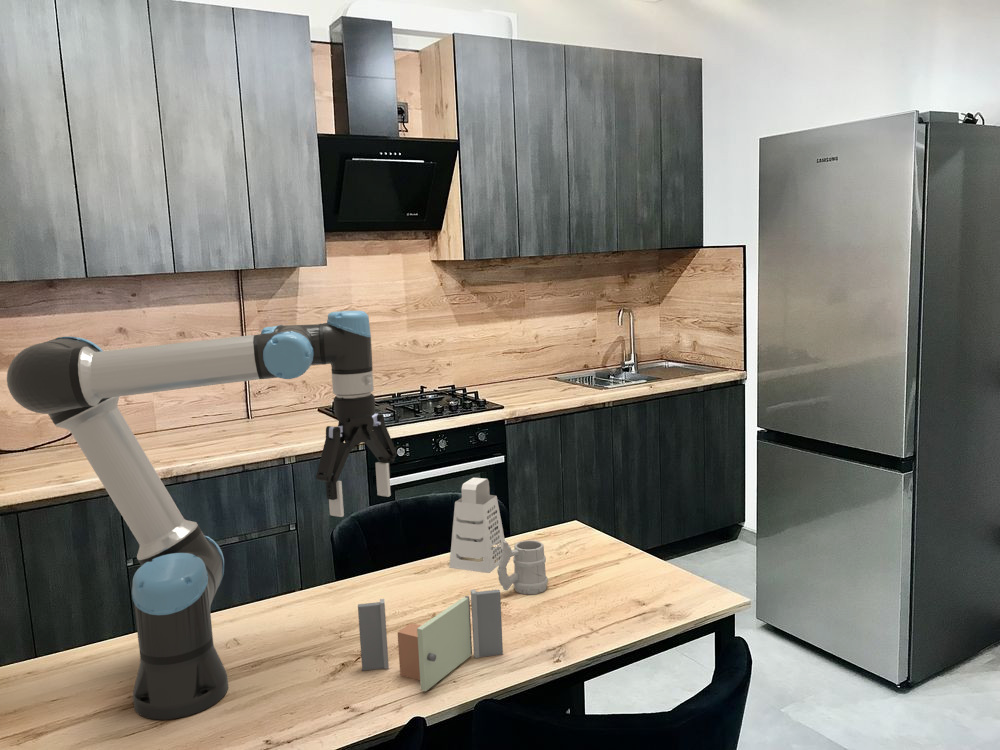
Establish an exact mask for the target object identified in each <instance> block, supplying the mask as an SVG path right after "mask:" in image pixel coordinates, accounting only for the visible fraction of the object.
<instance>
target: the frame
mask: <svg viewBox="0 0 1000 750" xmlns="http://www.w3.org/2000/svg"><path fill="white" fill-rule="evenodd" d="M501 599H502V597H501V591H500V589H492V590H483V591H482V590H481V591H476V589H470V601H471V602H470V603H471V605H470V607H471V621H472V622H471V623H472V624H471V628H472V643H473V644H472V648H473V656H474V659H480V658H482V657H492V656H499V655H504V649H503V648H504V647H503V624H502V623H503V622H502V604H501V603H502V600H501ZM385 602H386V601H385V598H379V601H378V602H377V601H376V602H368V603H358V604H357V612H358V614H357V615H358V628H359V629H358V630H359V643H360V659H361V670H362V671H363V672H366V671H373V670H379V669H380V670H381V669H384V670H388V669H390V666H389V665H390V664H389V653H388V652H389V651H388V649H389V648H388V636H387V635H388V634H387V621H386V617H387V616H386V606H385V605H386V604H385Z"/></svg>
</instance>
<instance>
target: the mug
mask: <svg viewBox="0 0 1000 750" xmlns="http://www.w3.org/2000/svg"><path fill="white" fill-rule="evenodd" d="M513 547H514V549H512V548H511V545H510V544H509V542H507V541H503V551H502V555H501V559H500V558H499V560H500V563H499V565H498V566H497V568H496V569H497V570H496V571H497V575H498V582H499V584H500V586H501V587H502V589H503V591H508V590H509V589H510V588H511V586H512V585H513V586H514V590H515V591H516V592H517V593H518V594H522V595H530V596H531V595H537V594H540V593H543V592H545V591H546V590H547V585H548V583H549V579H548V577H547V573H546V560H547V557H546V555H545V547H544V543H542V542H540V541H538V540H535V539H534V540H533V539H531V540H530V539H528V540H527V539H526V540H521V541H519V542H516V543H515V544H514V546H513ZM512 557H513V558H512ZM511 558H512V559H513V560H512V561H513V565H514V566H513V567H514V572H513V573H512V574H511V575H509V574H508V571H507V566H508V563H509V562H510V560H511Z"/></svg>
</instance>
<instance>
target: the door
mask: <svg viewBox="0 0 1000 750" xmlns="http://www.w3.org/2000/svg"><path fill="white" fill-rule="evenodd" d="M470 601H471V598H470V595H466V596H464V597H462V598H460V599H459V600H457V601H456V602H454V603H452V604H451V605H450V606H449V607H446V608H445V609H444V610H442V611H440V612H439V613H438V614H437V615H435V616H434V617H431V618H430V619H429V620H428V621H425V623H423V624H421V625H422V626H420V627H419V628H417V635H418V652H419V669H420V680H419V681H420V682H419V683H420V690H421V691H423V692H427V691H428V690H430V689H431V688H432V687H433V686H435V685H436V684H437V683H438V682H439V681H440V680H442V679H443V678H445V677H446V676H447V675H448V674H450V673H451V672H452V671H454V670H455V669H456V668H457V667H458V666H460V665H461V664H463V663H464V662H465V661H466V660H468V659H469V658H470V657H471V656H472V654H473V644H472V643H473V639H472V624H471V623H472V622H471V621H472V619H471V605H470V603H471V602H470Z"/></svg>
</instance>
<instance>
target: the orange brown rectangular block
mask: <svg viewBox="0 0 1000 750" xmlns="http://www.w3.org/2000/svg"><path fill="white" fill-rule="evenodd" d="M422 625H423V624H421V625H420V624H417V623H413V622H411V623H409V624H407V625H406V626H404V627H403V628H402V629H400V630H399V631H397V645H398V659H399V662H398V664H399V675H400V676H402V677H407V678H409V679H414V680H418V681H420V669H419V652H418V635H417V628H419V627H420V626H422Z"/></svg>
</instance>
